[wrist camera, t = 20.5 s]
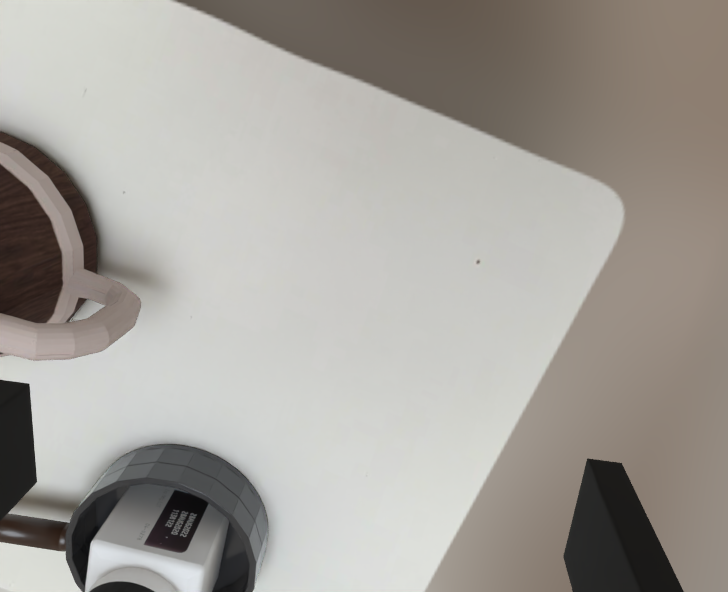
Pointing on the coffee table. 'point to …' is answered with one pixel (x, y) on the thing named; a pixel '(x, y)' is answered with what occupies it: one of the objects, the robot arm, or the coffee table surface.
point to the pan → (195, 477)
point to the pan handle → (33, 532)
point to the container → (157, 543)
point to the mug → (51, 264)
